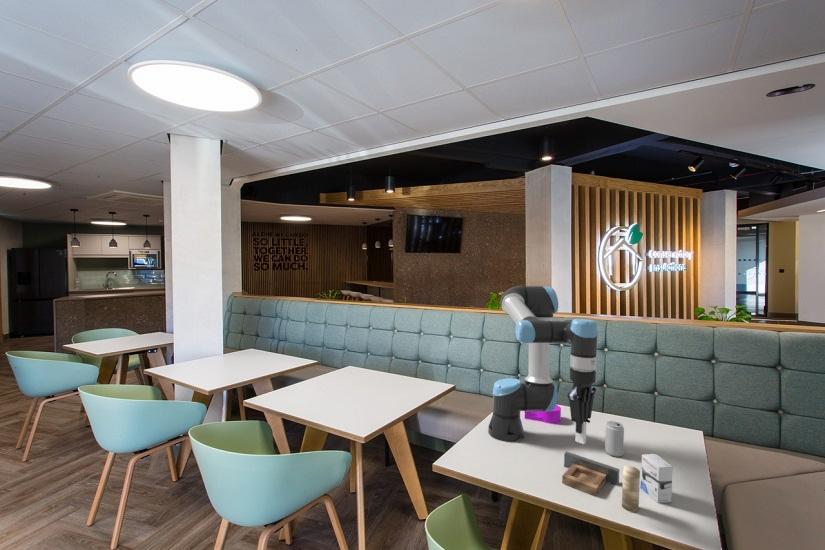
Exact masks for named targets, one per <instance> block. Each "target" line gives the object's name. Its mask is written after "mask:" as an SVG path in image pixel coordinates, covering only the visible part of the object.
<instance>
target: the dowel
mask: <svg viewBox="0 0 825 550" xmlns="http://www.w3.org/2000/svg"><path fill="white" fill-rule="evenodd" d="M622 470H623V471H622V473H623V474H622V491H621V493H622V495H621V507H622V508H623V510H625V511H627V512H630V513H637V512H639V509H640V508H639V506H640V505H639V504H640V503H639V502H640V486H641V471H640V469H638V468H637V467H634V466H631V465H624V466H623V468H622Z"/></svg>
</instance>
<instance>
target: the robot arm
mask: <svg viewBox="0 0 825 550" xmlns="http://www.w3.org/2000/svg"><path fill="white" fill-rule="evenodd" d="M500 307H501V309H502V311H503V312H504V313H505V314H506V315H509V316H510V318H511V320H512V321H513V323H514V324H515V337H516V340H517V341H518V342H519V343H526V344H528V375H526V376H525V377H524V382H523V383H522V382H521V380H520V379H518V378H512V377H508V378H502V379H499V380H496V381H495V382H494V384H493V389H492V416H491V419H490V422H489V424H488V427H487V428H488V429H487V431H488V434H489V435H490V436H491V437H492V438H494V439H496V440H498V441H499V440H500V441H503V442H504V441H505V442H517V441H520V440H522V439H523V438H524V435H525V434H524V433H525V430H524V426H523V422H522V420H521V412H525V411H541V412H545V411H552V410H554V408H555V407H556V405H558V400H559V392H558V388H557V387H558V386H557V385H556V384H554V380H553V379H552V378H551V377H550V344H569V345H570V355H569V356H570V357H569V358H570V359H569V360H570V361H569V367H570V369H569V379H570V380H571V381H572V391H571V393H570V392H567V397H568V401H569V410H570V411H569V412H570V418H571V422H574V423H575V437H574V438H575V442H577V443H578V444H582V445H585V444H587V424H589V423H590V422H591V420H590V419H591V418H592V412H593V405H594V399H595V394H596V391H597V388H596V387H593V384H595V383H596V380H597V378H596V377H597V371H596V368H597V363H598V362H597V349H598V347H597V346H598V335H599V332H598V324H597V322H596V321H595V320H594V319H588V318H575V319H562V320H552V319H553V318H554V314H556V313H558V311H559V298H558V295H557V293H556V291H555V289H554V288H553V287H551V286H546V285H544V286H543V285H541V286H540V285H539V286H538V285H537V286H536V285H535V286H533V285H527V286H526V285H524V286H523V285H516V286H512V287H511V288H508V289H507V290H505V292H503V293H502V296H501V298H500Z"/></svg>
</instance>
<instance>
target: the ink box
mask: <svg viewBox="0 0 825 550" xmlns="http://www.w3.org/2000/svg"><path fill="white" fill-rule="evenodd" d="M673 469H674V467H673V466H672V465H671V464H669V463H668V462H667V461H666V460H665V459H663V457H661V456H659V455H658V454H656V453H650V454H648V453H646V454H645V453H643V454H641V468H640V470H641V471H640V489H642V491H644V492H645V493H646V494H647V496H649V497H650V498H651V499H653V500H654V501H655V502H656V503H657V504H659V503H660V504H661V503H662V504H663V503H666V504H667V503H672V491H673V473H674V472H673V471H674V470H673Z"/></svg>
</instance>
